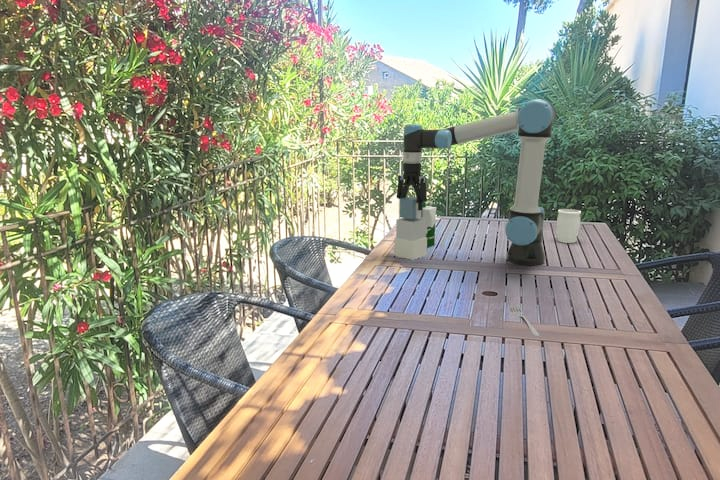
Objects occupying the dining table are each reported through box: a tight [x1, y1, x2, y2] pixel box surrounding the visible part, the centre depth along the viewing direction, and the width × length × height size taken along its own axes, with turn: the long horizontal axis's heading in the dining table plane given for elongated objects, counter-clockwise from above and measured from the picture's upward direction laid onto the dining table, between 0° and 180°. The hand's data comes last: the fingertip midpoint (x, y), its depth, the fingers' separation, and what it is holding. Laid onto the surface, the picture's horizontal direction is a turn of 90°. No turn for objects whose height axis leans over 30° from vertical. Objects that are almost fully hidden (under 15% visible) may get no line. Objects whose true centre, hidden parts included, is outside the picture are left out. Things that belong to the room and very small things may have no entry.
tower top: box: [395, 217, 426, 241], centre depth 219 cm, size 9×9×8 cm
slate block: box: [399, 196, 423, 219], centre depth 217 cm, size 7×7×8 cm
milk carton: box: [421, 201, 437, 249], centre depth 236 cm, size 9×9×20 cm
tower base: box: [393, 236, 428, 261], centre depth 221 cm, size 10×10×8 cm
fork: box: [510, 303, 540, 337], centre depth 151 cm, size 3×24×2 cm, turn 1°
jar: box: [556, 208, 582, 244], centre depth 244 cm, size 11×10×15 cm
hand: (411, 216), depth 218 cm, fingers closed on slate block, 7 cm apart
